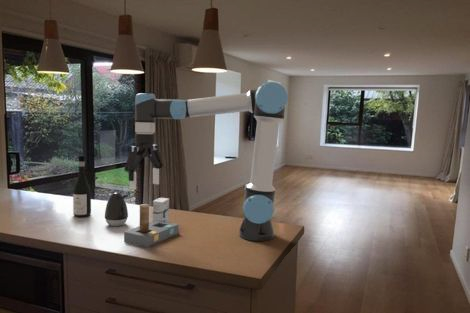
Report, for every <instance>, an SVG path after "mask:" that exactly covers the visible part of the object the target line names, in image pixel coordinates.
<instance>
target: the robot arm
mask: <svg viewBox="0 0 470 313" xmlns="http://www.w3.org/2000/svg"><path fill="white" fill-rule="evenodd" d="M288 98H289V97H288V93H287V90H286V88H285V87H284V86H283V85H282V84H280V83H279V82H275V81H267V82H264V83H262V84H260V86H258V88H256V89H249V90H248V92H244V93H243V92H242V93H235V94H234V93H233V94H227V95H226V94H225V95H218V96H217V95H216V96H207V97H199V98H192V99H191V98H190V99H178V98H177V99H176V98H175V99H173V98H172V99H168V98H166V99H165V98H164V99H163V98H160V99H159V98H156V95H155V94H154V93H146V92H145V93H143V92H141V93H137V94H136V95H135V99H134V102H135V103H134V112H135V114H134V119H135V120H134V121H135V122H134V125H135V128H134V129H135V131H134V132H135V134H134V142H135V144H136V146H133V145H131V146H130V150H129V155H128V158H127V161H126V164H125V165H124V166H125V167H124V172H127V173H128V181H129V190H133V191H134V190H137V172H136V170H137V168H138V166H139V165H140V163H141V161H142V159H144V158H148V159H149V161H150V162H151V165H152V166H153V168H152V184H153V185H160V171H161V169H162V168H163V167H164V162H163V159H162V156H161V153H160V150H159V147H160V146H159V144H155V143H156V141H155V140H156V139H155V138H156V136H155V134H154V133H156V119H161V120H162V119H165V120H166V119H167V120H184V119H188V118H195V117H206V116H216V115H224V114H233V113H241V112H250V113H251V114H253V118H255V120H256V128H255V137H254V145H253V155H252V163H251V164H252V165H251V171H250V172H251V173H250V182H249V183H246V184H245V186H244V188H243V190H244V199H243V206H242V211H243V219H242V221H241V224H240V227H239V232H238V236H239V237H240V238H242V239H243V240H247V241H251V242H252V241H253V242H266V241H271V240H273V239H274V237H275V230H274V226H273V224H272V219H271V218H272V217H273V215H274V212H275V205H274V204H275V194H276V188H275V187H274V185H273V179H274V170H275V162H276V156H277V155H276V154H277V147H278V139H279V138H278V137H279V131H280V129H279V128H280V123H282V121H284V120H285V112H286V105H287V103H288Z"/></svg>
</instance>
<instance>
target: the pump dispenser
mask: <svg viewBox="0 0 470 313" xmlns="http://www.w3.org/2000/svg"><path fill="white" fill-rule="evenodd" d="M125 198H129V194H128V193H126V194H122V193H121V192H117V191H116V192H113V193H112V194H110V196H109V199H108V200H107V203H106V206H105V210H104V219H105V222H106V223H107V225H109V226H111V227H121V226H123V225H125V224H126V222H127V220H128V218H129V213H128V211H129V210H128V207H127V206H128V205H127V202H126V200H125Z"/></svg>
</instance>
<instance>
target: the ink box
mask: <svg viewBox="0 0 470 313" xmlns="http://www.w3.org/2000/svg"><path fill="white" fill-rule="evenodd" d="M169 208H170V198H168V197H167V198H166V197H159V198H156V199H154V200H153V201H152V222H153V221H156V220H158V221H163V222H168V223H170V222H169V221H170V209H169Z"/></svg>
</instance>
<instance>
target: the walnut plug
mask: <svg viewBox="0 0 470 313" xmlns="http://www.w3.org/2000/svg"><path fill="white" fill-rule="evenodd" d="M149 223H150V204H149V203H142V204H139V226H140V233H143V234H146V233H148V232H149Z"/></svg>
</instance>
